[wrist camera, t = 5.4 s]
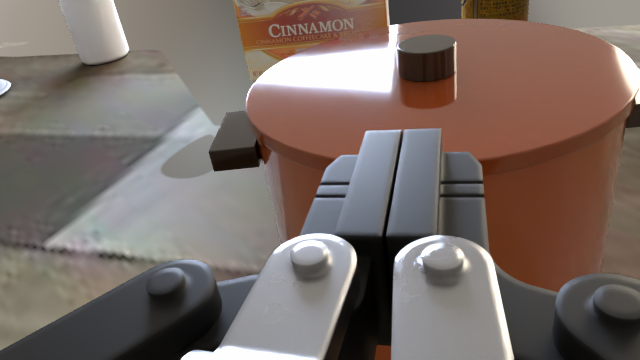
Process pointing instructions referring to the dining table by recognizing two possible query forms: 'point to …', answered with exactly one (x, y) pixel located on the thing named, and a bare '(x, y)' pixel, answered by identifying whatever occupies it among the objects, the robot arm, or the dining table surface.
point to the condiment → (495, 9)
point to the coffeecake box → (300, 26)
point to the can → (95, 30)
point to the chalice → (4, 86)
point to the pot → (457, 128)
